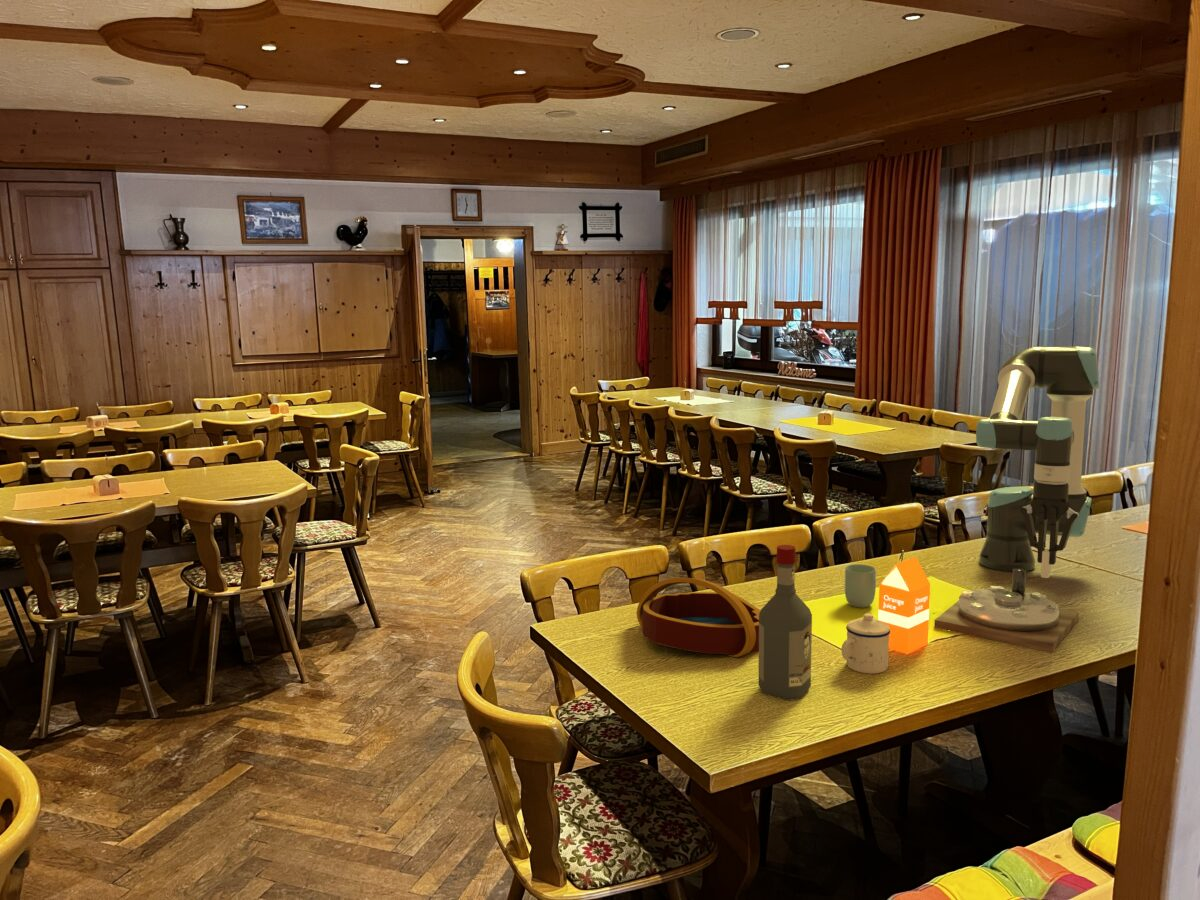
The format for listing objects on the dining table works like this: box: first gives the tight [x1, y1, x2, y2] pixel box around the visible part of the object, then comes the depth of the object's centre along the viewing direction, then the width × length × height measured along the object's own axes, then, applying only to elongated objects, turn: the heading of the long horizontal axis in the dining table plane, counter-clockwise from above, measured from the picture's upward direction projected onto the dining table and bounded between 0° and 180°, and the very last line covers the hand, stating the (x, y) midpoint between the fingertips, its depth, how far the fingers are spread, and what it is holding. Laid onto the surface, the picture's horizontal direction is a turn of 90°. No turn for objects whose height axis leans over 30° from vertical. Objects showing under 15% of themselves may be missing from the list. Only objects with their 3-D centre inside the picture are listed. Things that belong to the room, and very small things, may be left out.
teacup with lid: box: [840, 613, 890, 675], centre depth 186 cm, size 12×9×12 cm
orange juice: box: [877, 556, 931, 655], centre depth 198 cm, size 8×9×20 cm
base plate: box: [933, 600, 1080, 653], centre depth 211 cm, size 26×26×2 cm
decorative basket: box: [636, 577, 761, 658], centre depth 205 cm, size 34×29×15 cm
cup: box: [844, 563, 877, 609], centre depth 226 cm, size 8×8×10 cm
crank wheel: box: [958, 568, 1060, 631], centre depth 210 cm, size 22×22×9 cm
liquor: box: [758, 544, 813, 701], centre depth 175 cm, size 9×9×30 cm
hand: (1045, 576), depth 212 cm, fingers closed
